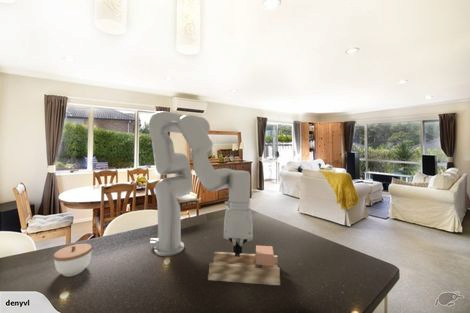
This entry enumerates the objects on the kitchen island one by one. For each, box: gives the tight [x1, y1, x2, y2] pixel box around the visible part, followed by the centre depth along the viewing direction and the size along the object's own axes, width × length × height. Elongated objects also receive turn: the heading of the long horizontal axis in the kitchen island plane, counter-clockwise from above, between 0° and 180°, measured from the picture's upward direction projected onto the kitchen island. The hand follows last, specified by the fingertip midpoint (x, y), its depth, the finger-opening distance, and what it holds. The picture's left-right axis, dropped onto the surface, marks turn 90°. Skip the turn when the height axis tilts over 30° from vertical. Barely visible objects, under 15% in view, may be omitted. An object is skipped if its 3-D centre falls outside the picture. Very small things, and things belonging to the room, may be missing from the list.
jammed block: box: [255, 245, 274, 267], centre depth 74 cm, size 6×6×7 cm
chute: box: [207, 251, 281, 286], centre depth 75 cm, size 24×12×5 cm, turn 84°
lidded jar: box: [53, 243, 93, 277], centre depth 74 cm, size 11×11×9 cm
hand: (237, 254), depth 75 cm, fingers closed
